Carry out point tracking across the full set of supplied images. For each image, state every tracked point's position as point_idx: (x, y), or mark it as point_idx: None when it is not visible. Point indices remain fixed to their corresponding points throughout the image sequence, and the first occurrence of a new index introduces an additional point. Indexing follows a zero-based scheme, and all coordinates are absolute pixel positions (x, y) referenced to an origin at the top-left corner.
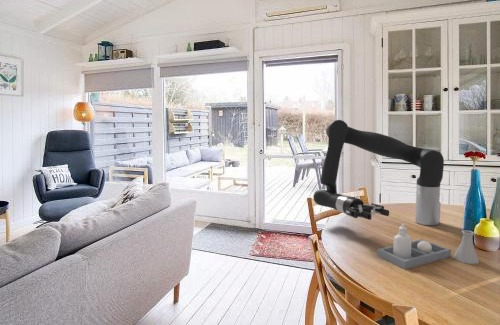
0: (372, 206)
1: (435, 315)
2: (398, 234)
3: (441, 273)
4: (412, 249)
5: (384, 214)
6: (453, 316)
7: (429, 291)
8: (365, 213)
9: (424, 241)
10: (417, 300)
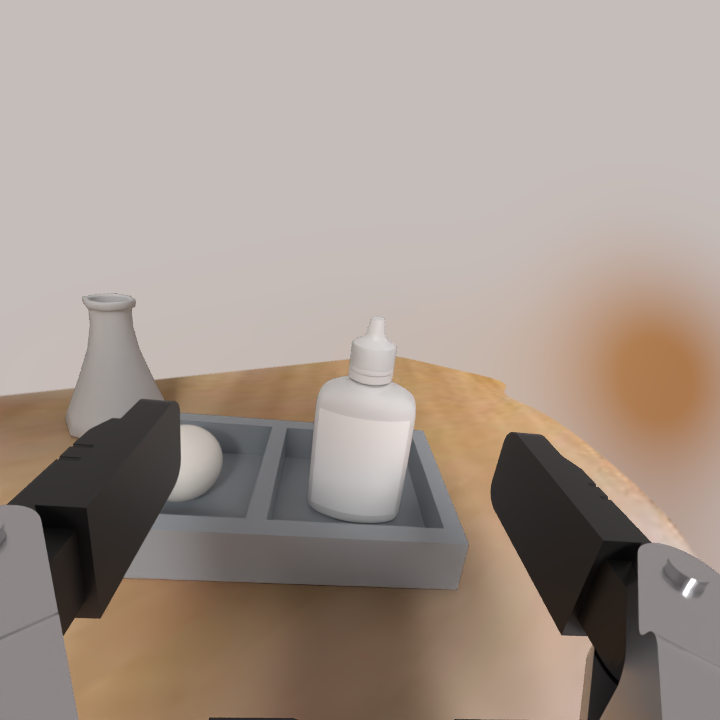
0: (70, 695)
1: (482, 380)
2: (389, 390)
3: (310, 420)
4: (277, 467)
5: (157, 504)
6: (451, 372)
7: (431, 403)
8: (583, 494)
9: (186, 429)
10: (486, 401)
